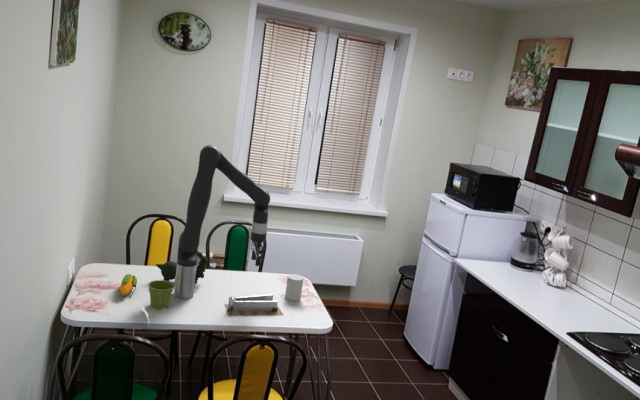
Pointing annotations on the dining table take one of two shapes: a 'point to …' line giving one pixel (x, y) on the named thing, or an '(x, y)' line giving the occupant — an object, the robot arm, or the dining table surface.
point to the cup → (294, 287)
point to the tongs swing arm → (256, 298)
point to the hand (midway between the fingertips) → (255, 262)
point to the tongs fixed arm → (252, 306)
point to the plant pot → (160, 293)
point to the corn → (128, 284)
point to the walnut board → (253, 313)
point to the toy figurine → (170, 267)
